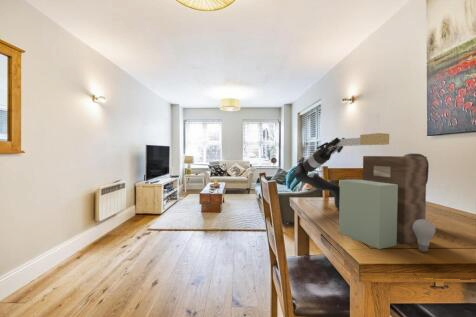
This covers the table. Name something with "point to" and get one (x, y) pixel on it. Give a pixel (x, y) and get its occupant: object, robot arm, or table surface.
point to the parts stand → (401, 188)
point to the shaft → (365, 140)
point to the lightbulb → (423, 233)
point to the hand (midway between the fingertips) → (341, 139)
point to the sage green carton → (369, 212)
